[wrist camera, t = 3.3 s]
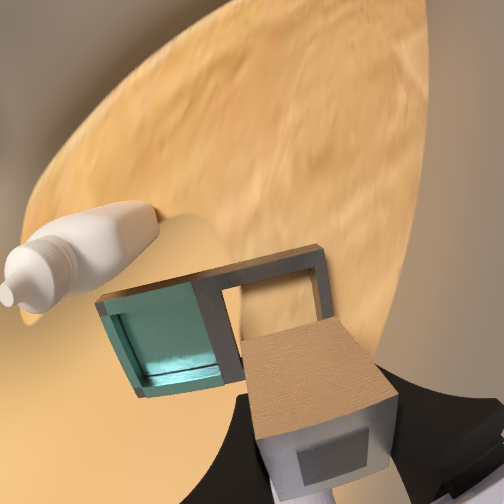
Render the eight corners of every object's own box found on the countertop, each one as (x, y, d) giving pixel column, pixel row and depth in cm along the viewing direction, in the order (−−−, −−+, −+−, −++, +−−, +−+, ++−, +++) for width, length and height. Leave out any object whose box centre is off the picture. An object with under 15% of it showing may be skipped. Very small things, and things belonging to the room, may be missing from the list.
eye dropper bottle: (152, 271, 19) (81, 385, 7) (77, 250, 18) (-41, 325, 7) (167, 206, 18) (88, 249, 7) (88, 187, 17) (-46, 205, 6)
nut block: (341, 387, 15) (389, 468, 9) (260, 410, 14) (280, 503, 8) (335, 316, 14) (400, 395, 8) (240, 341, 13) (255, 442, 7)
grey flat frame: (330, 344, 22) (337, 355, 20) (141, 386, 21) (137, 399, 19) (316, 243, 20) (324, 249, 18) (102, 295, 19) (93, 303, 17)
